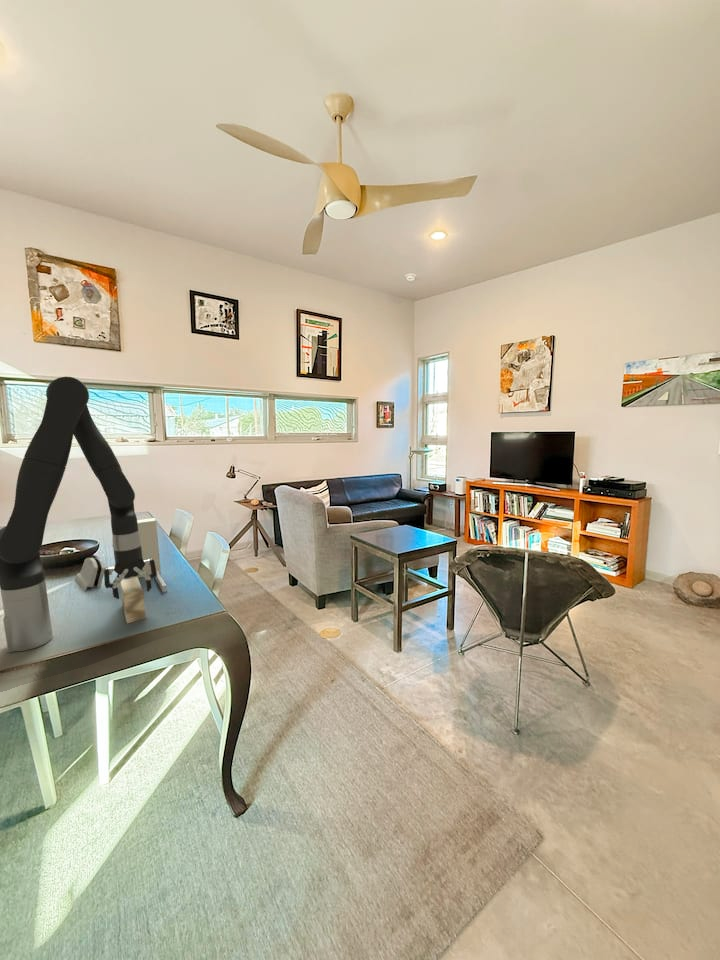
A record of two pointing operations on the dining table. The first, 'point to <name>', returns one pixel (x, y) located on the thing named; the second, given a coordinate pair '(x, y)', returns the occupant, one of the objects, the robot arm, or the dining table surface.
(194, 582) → the dining table surface
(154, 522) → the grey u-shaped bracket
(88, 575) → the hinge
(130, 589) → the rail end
